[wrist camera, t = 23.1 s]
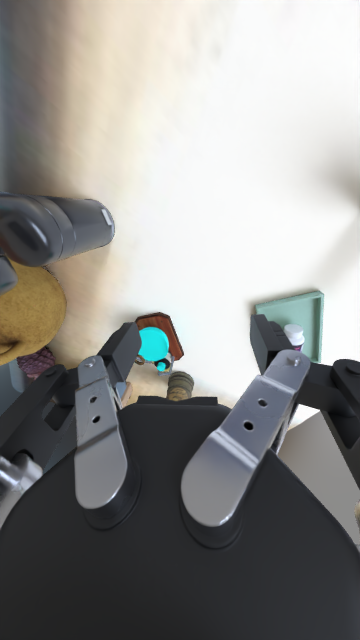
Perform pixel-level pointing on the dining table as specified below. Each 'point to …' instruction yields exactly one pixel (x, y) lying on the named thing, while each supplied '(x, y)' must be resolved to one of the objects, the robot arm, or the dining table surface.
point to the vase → (30, 312)
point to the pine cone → (36, 362)
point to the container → (179, 386)
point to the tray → (299, 319)
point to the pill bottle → (295, 336)
